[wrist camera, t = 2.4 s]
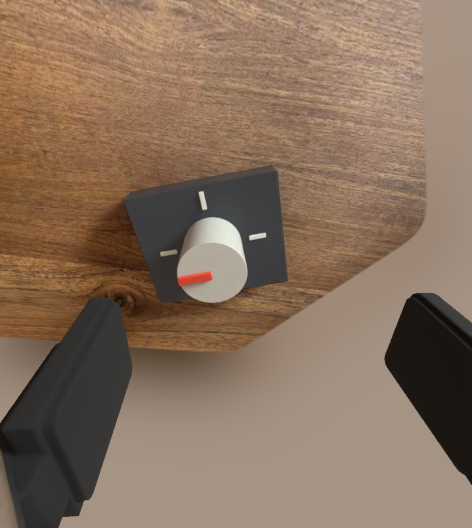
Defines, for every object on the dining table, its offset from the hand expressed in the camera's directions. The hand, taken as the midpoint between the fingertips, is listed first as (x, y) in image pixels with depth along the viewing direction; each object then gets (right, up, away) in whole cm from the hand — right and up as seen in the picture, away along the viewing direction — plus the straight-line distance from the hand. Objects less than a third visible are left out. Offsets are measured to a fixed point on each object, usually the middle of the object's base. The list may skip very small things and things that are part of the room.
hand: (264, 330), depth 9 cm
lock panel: (-3, +5, +16) cm, 17 cm away
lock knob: (-3, +4, +14) cm, 15 cm away
